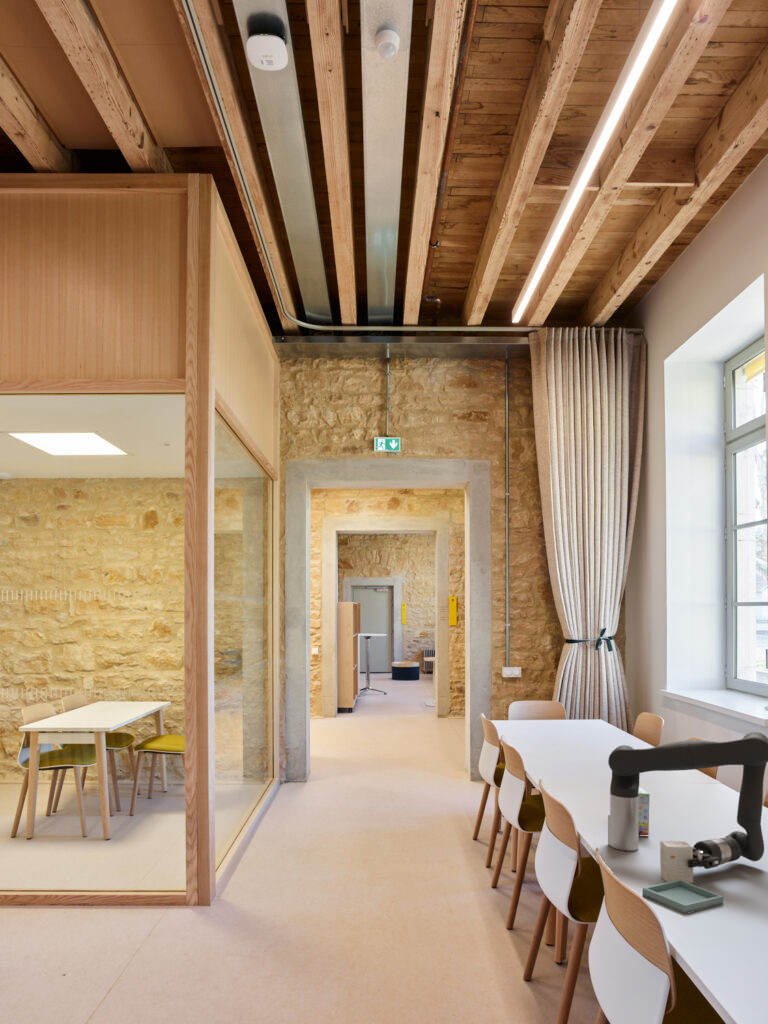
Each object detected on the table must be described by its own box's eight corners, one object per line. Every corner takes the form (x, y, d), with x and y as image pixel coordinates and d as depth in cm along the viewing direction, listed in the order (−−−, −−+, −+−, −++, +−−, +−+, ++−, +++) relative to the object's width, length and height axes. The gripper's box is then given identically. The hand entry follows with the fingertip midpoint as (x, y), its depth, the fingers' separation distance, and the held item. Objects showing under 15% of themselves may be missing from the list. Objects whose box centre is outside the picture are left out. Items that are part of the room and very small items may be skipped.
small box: (685, 877, 244) (685, 841, 245) (693, 883, 238) (693, 846, 239) (659, 876, 243) (659, 840, 244) (667, 883, 238) (666, 846, 239)
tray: (642, 895, 227) (642, 887, 227) (680, 887, 235) (679, 879, 235) (685, 913, 214) (685, 905, 214) (723, 904, 222) (723, 896, 222)
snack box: (650, 837, 284) (650, 793, 286) (634, 836, 284) (634, 793, 286) (632, 820, 305) (632, 780, 307) (618, 820, 305) (618, 779, 307)
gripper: (693, 833, 255) (657, 840, 247) (732, 846, 243) (696, 853, 235) (693, 858, 255) (658, 865, 246) (732, 872, 242) (696, 880, 234)
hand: (676, 859), depth 241 cm, fingers open, 8 cm apart
